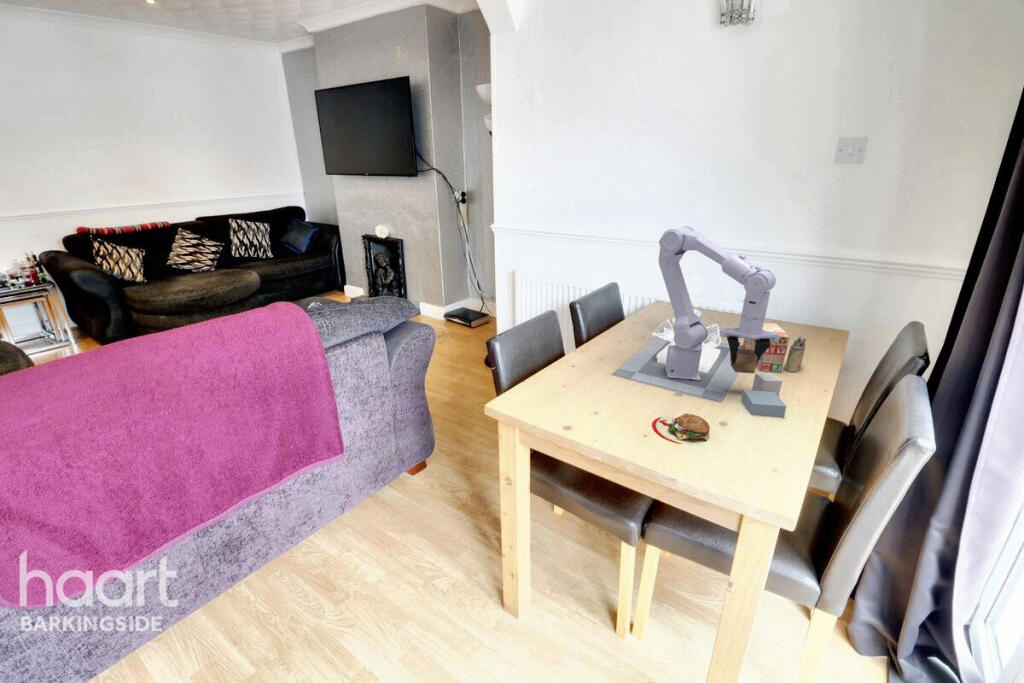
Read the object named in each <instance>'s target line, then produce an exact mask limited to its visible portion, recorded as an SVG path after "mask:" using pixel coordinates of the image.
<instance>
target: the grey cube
mask: <svg viewBox="0 0 1024 683" xmlns="http://www.w3.org/2000/svg"><path fill="white" fill-rule="evenodd" d="M753 378H754V379H753V384H752V388H751V389H752V391H765V392H775V393H776V394H777V396H778V397H779V396H780V393H781V388H782V384H783V380H782V379H781V378H779V377H778V376H777V375H776V374H774V372H758V373H757V372H755V373H754V377H753ZM779 398H780V397H779Z"/></svg>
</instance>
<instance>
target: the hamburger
mask: <svg viewBox="0 0 1024 683" xmlns="http://www.w3.org/2000/svg"><path fill="white" fill-rule="evenodd" d="M666 421H667V422H668V420H667V419H662V417H657V418H655V419H654V420H653V421H652V422H651V428H652V431H653V432H654V433H655V434H657V435H658V436H659V437H660V438H662V439H664V440H666V441H667V442H671V443H674V444H679V445H682V442H678V441H679V440H684V439H692V440H701V439H705V440H706V441H708V439H710V428H711V427H710V426H709V425H710V424H709V423H708V422H707V421H706V420H705V418H702V417H701V416H700V415H695V414H692V413H687V412H686V413H683V414H681V415H679V416H677V417H673V418H672V419H671V422H670V423H667V422H666ZM658 422H659V423H660V424H662V425H663V426H665V427H668V429H669V430H670V432H671V431H673V432H674V434H675V435H676V437H677V440H678V441H675V440H673V439H670V438H668V437H667V436H665V435H663V434H662V433H661V432H660V431H659V430H658V428H657V423H658Z"/></svg>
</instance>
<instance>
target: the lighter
mask: <svg viewBox="0 0 1024 683" xmlns="http://www.w3.org/2000/svg"><path fill="white" fill-rule="evenodd" d="M806 341H807V339H806V338H802V337H801V336H798V337H797V339H795V340H794V341H793V343H792V344H791V346H790V348H789V351H788V354H787V359H786V363H785V367H784V370H786V371H787V372H790V373H797V372H799V371H800V369H801V367H802V362H803V359H804V355H805V351H806Z"/></svg>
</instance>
